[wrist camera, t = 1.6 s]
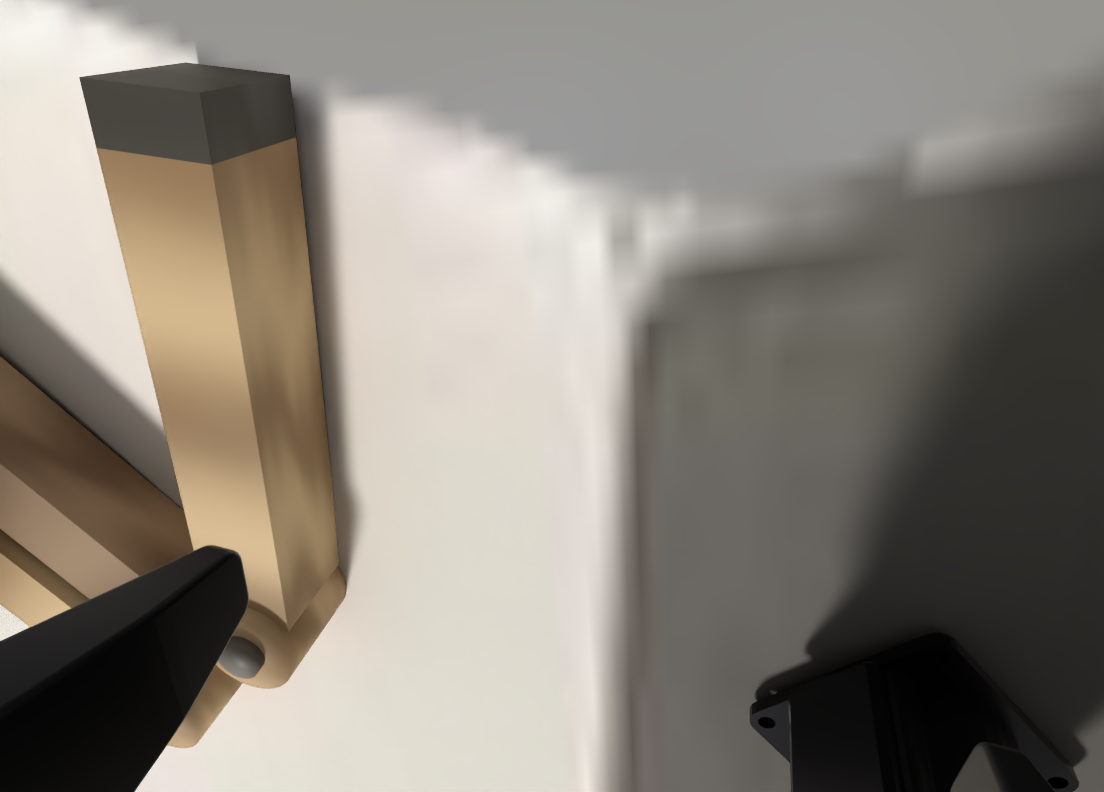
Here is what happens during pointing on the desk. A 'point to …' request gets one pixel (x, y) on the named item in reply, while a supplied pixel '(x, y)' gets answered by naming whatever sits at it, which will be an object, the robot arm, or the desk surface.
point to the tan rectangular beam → (81, 524)
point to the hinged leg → (229, 333)
